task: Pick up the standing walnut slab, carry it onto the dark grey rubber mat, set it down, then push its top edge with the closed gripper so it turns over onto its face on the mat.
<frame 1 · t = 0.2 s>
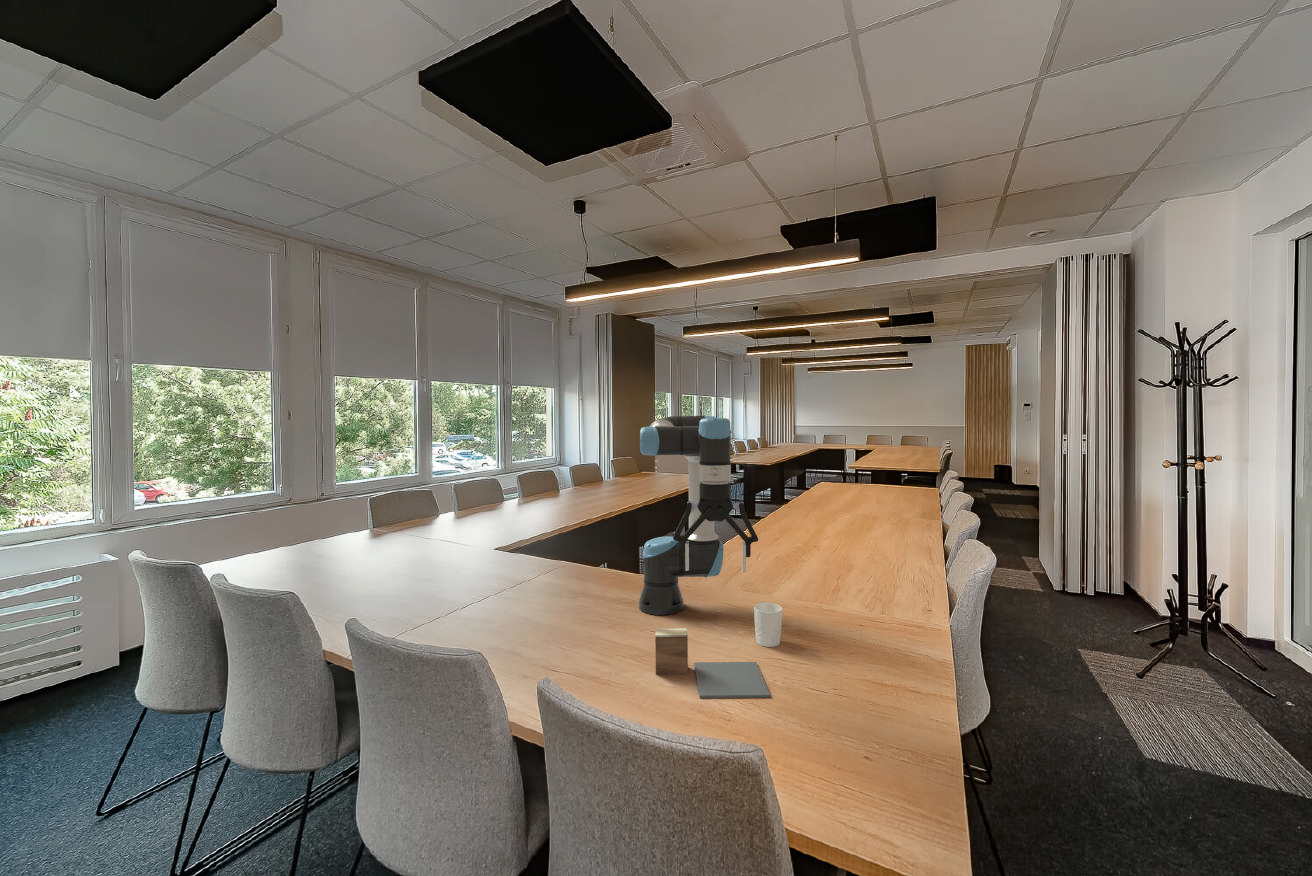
hand: (715, 570, 123), 27 cm above the table, fingers open, 13 cm apart
rubber mat: (729, 680, 124), on the table
walnut slab: (671, 670, 129), on the table
white cup: (767, 643, 145), on the table
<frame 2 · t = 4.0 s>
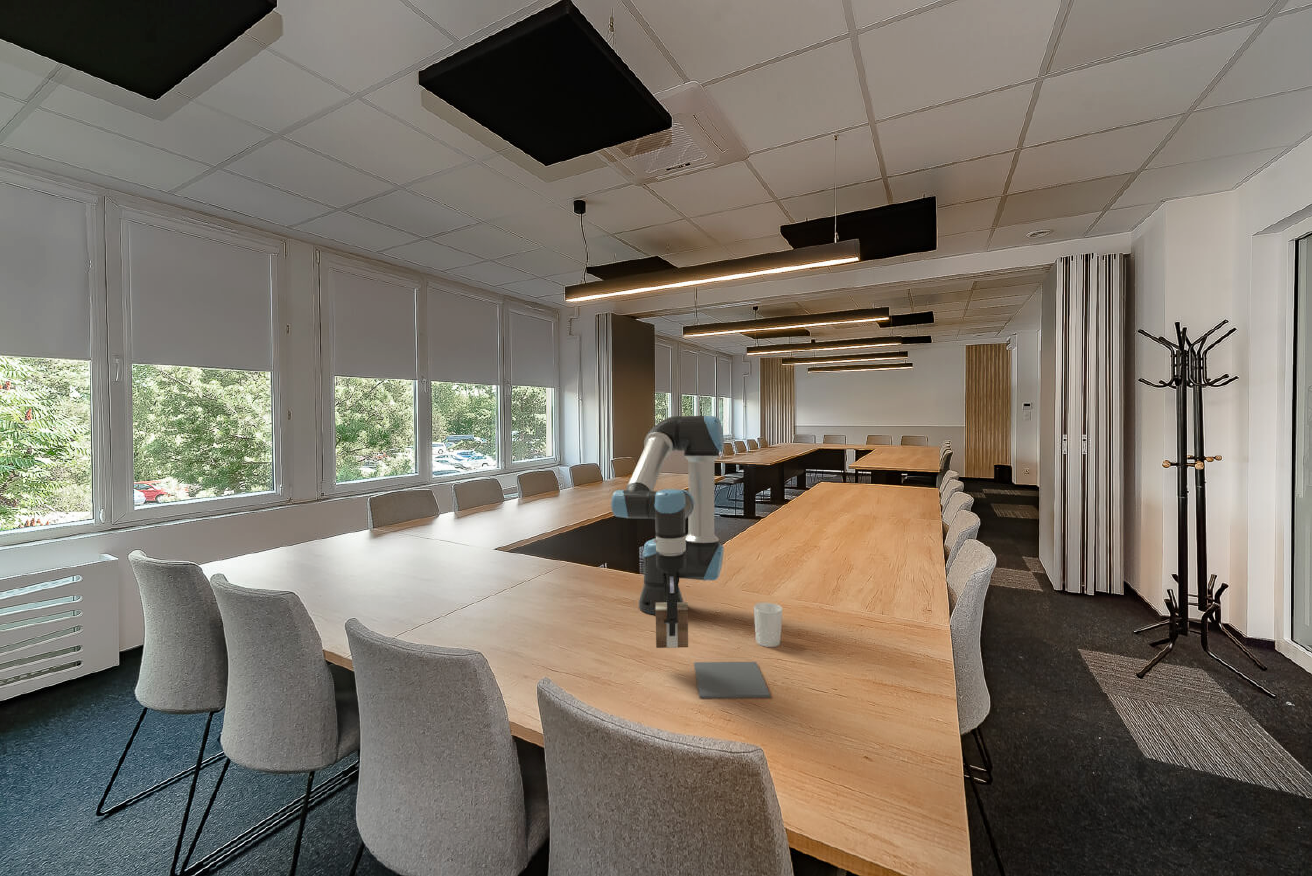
hand: (671, 642, 130), 7 cm above the table, fingers closed on walnut slab, 4 cm apart
walnut slab: (671, 644, 130), point 7 cm above the table, touching gripper
everything else where it was.
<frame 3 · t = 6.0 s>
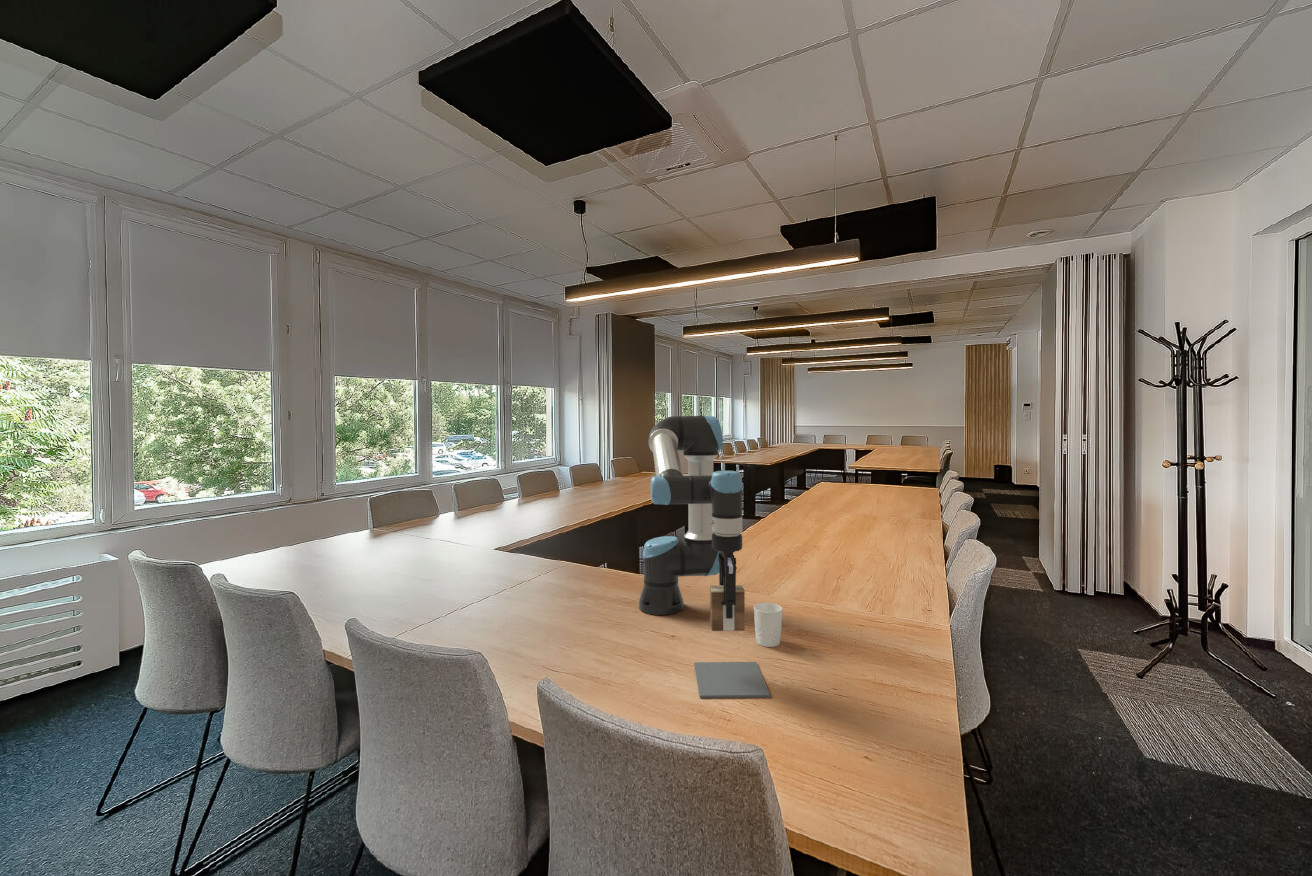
hand: (727, 626, 128), 12 cm above the table, fingers closed on walnut slab, 4 cm apart
walnut slab: (727, 627, 128), point 11 cm above the table, touching gripper
everything else where it was.
when the fingers open (1 cm above the table, at t = 7.9 s): walnut slab stays where it is, resting on rubber mat.
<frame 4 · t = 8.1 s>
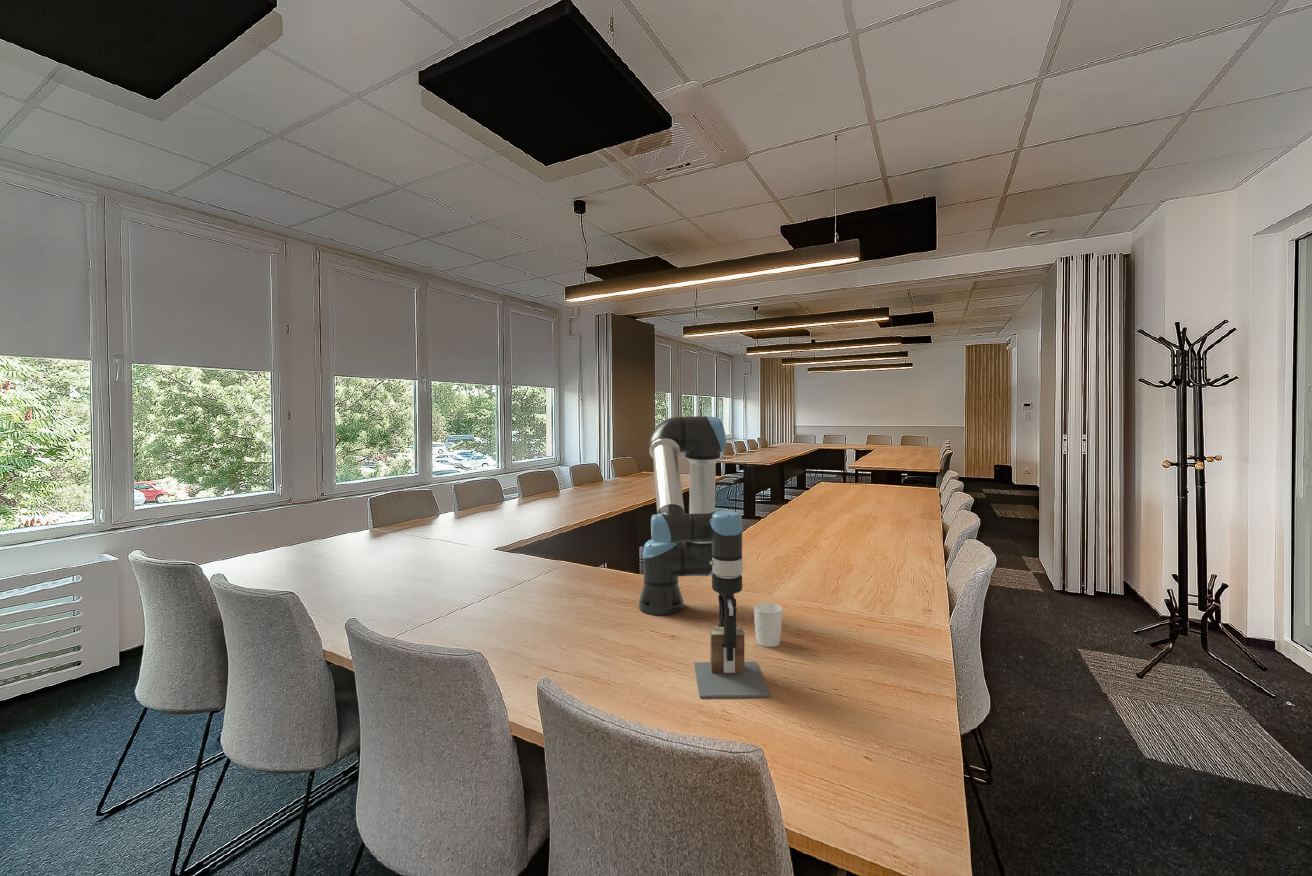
hand: (727, 665, 128), 2 cm above the table, fingers open, 6 cm apart
walnut slab: (727, 669, 128), point 1 cm above the table, touching rubber mat
everything else where it was.
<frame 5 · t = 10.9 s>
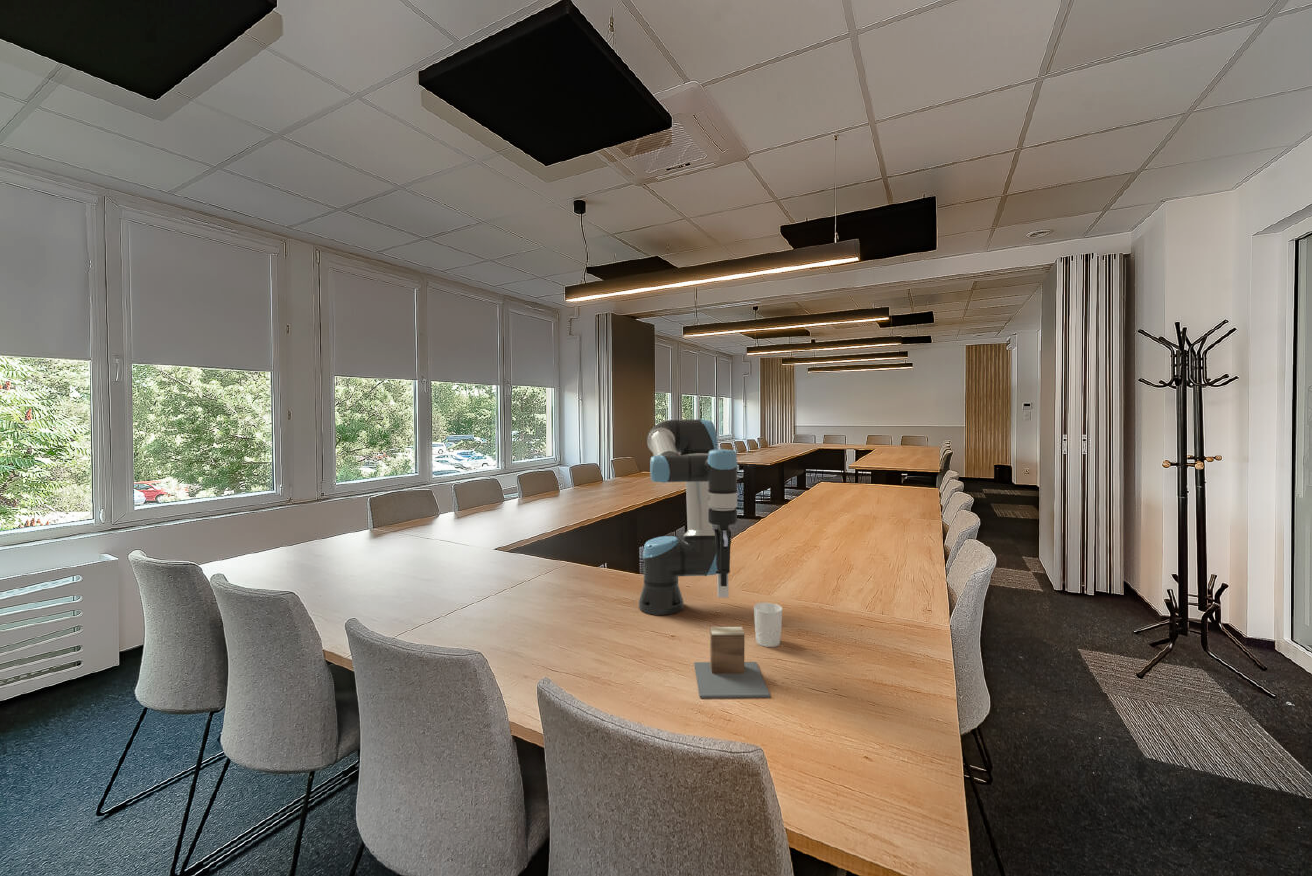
hand: (722, 596, 136), 16 cm above the table, fingers closed
nothing on the table moved.
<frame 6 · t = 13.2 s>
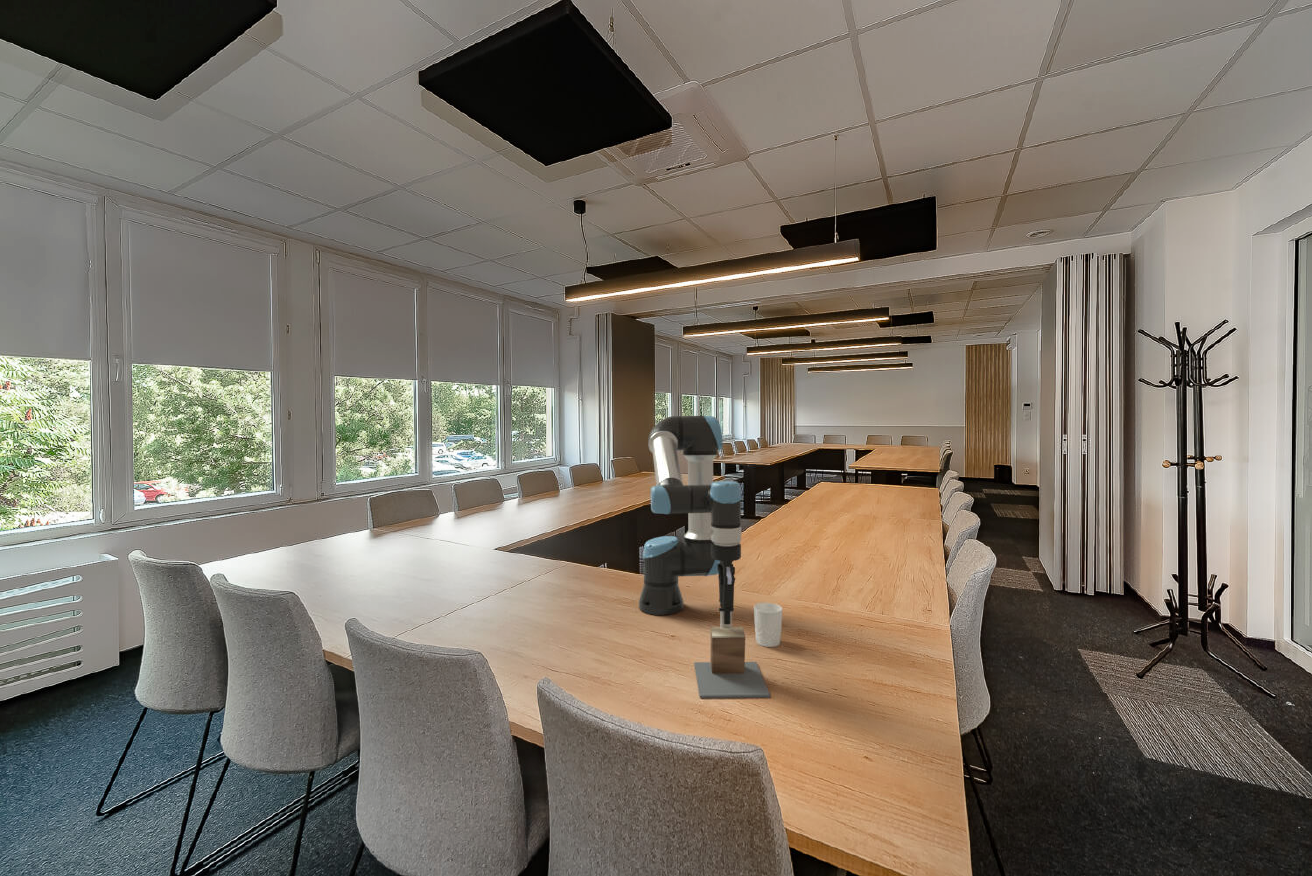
hand: (726, 634, 130), 9 cm above the table, fingers closed
walnut slab: (727, 668, 128), point 1 cm above the table, tilted 7°, touching gripper, rubber mat
everything else where it was.
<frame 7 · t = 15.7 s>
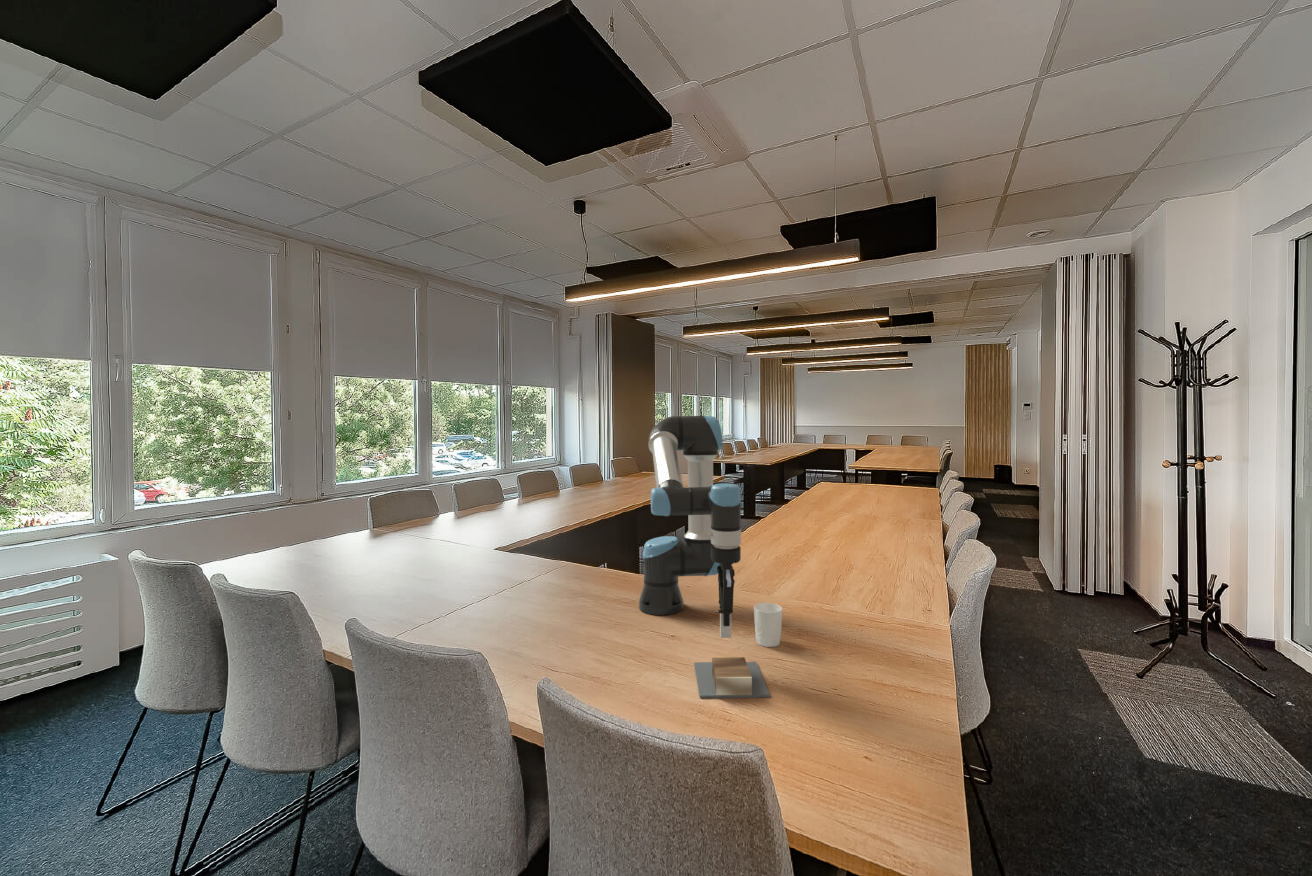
hand: (725, 636, 131), 8 cm above the table, fingers closed
walnut slab: (728, 665, 126), point 3 cm above the table, tilted 90°, touching rubber mat
everything else where it was.
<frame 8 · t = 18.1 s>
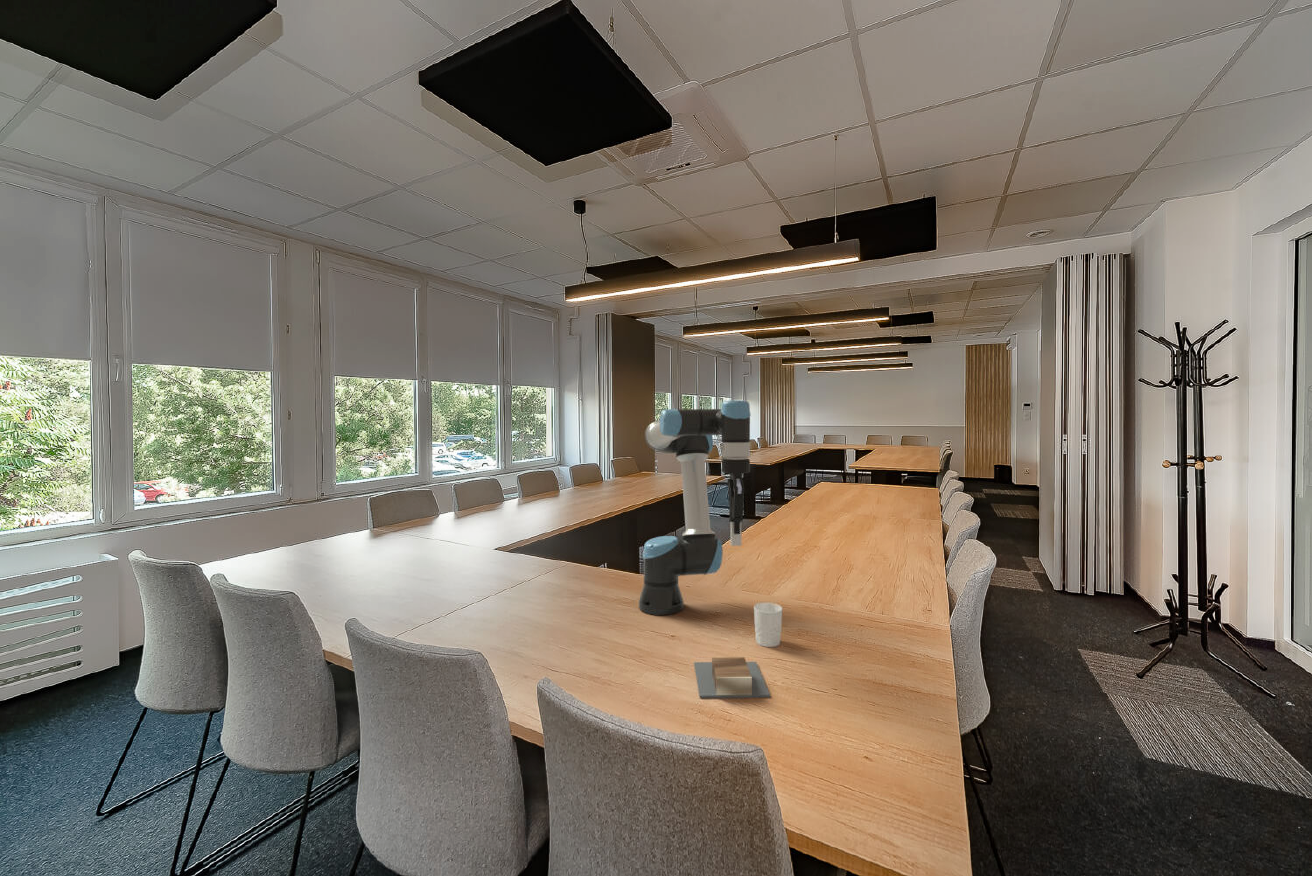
hand: (736, 545, 138), 29 cm above the table, fingers closed
nothing on the table moved.
at the end: walnut slab tilted 90°; walnut slab inside the target area on the rubber mat (2.0 cm from its centre), point 2.6 cm above the rubber mat's base; the gripper is holding nothing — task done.
